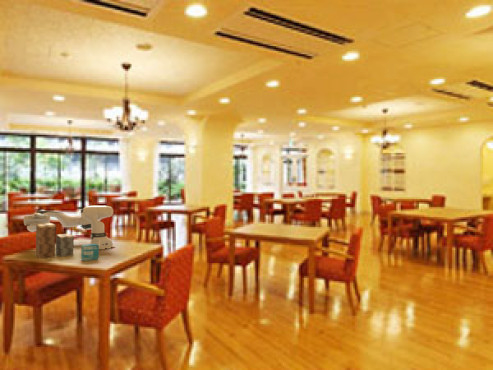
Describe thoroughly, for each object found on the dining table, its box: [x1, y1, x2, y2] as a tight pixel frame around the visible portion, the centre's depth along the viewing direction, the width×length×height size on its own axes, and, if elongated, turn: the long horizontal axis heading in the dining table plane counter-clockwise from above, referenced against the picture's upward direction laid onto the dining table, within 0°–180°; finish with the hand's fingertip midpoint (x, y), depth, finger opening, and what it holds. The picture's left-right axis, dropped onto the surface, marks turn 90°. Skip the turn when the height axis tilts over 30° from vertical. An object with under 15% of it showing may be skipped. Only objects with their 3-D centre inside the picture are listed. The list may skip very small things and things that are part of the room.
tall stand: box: [35, 222, 57, 259], centre depth 295 cm, size 11×13×26 cm
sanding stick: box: [33, 212, 46, 219], centre depth 308 cm, size 4×22×3 cm, turn 42°
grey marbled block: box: [55, 233, 75, 257], centre depth 305 cm, size 10×13×16 cm
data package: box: [80, 243, 100, 262], centre depth 288 cm, size 12×4×12 cm, turn 128°
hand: (38, 214), depth 311 cm, fingers closed on sanding stick, 4 cm apart
